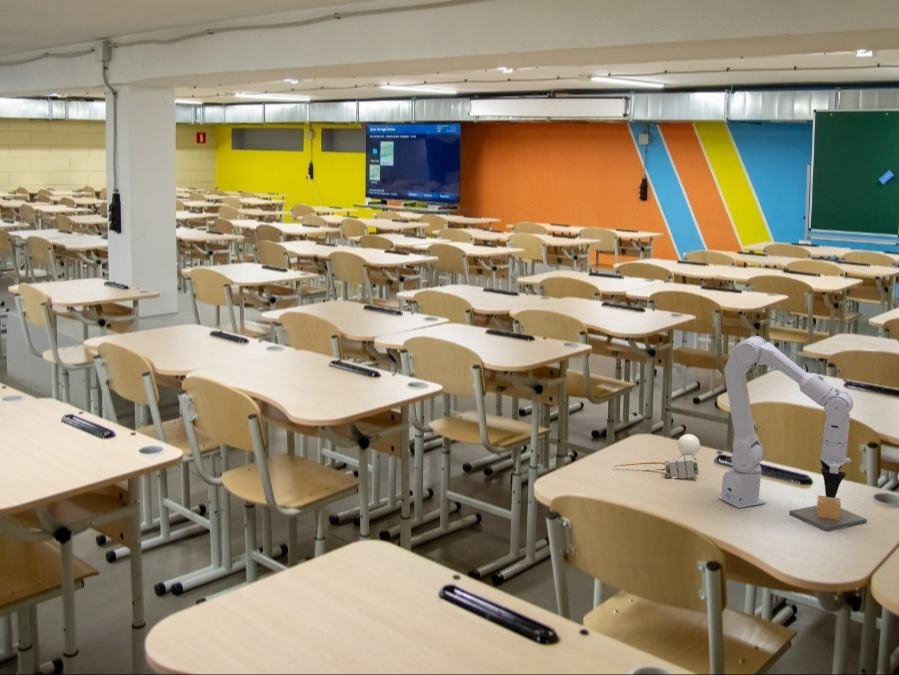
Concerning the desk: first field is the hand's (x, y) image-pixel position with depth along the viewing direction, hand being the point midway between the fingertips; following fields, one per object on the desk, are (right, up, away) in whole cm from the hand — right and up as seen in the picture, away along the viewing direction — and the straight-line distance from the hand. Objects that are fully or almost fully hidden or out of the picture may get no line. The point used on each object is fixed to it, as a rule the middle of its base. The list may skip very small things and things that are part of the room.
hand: (829, 492), depth 235 cm
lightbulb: (-27, 0, +37) cm, 45 cm away
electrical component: (-37, -1, +33) cm, 50 cm away
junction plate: (0, -7, +1) cm, 7 cm away
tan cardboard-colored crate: (0, -6, +1) cm, 6 cm away
